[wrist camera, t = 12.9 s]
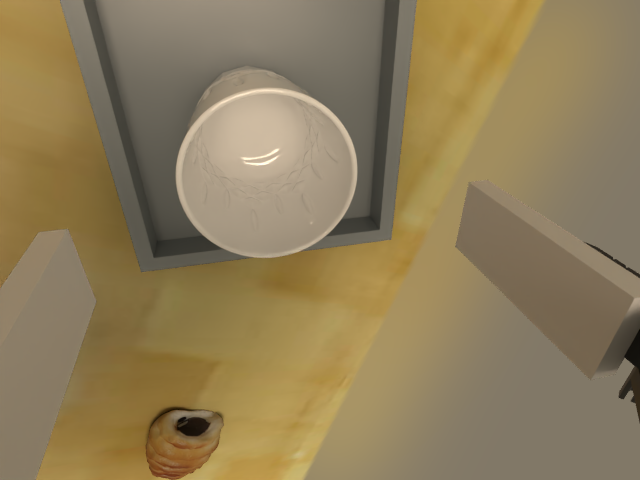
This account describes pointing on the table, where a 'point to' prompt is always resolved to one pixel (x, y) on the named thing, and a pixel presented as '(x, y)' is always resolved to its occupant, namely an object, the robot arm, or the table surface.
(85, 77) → the tray
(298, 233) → the white cup
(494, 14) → the table surface
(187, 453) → the pastry
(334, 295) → the table surface
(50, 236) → the robot arm
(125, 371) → the table surface
